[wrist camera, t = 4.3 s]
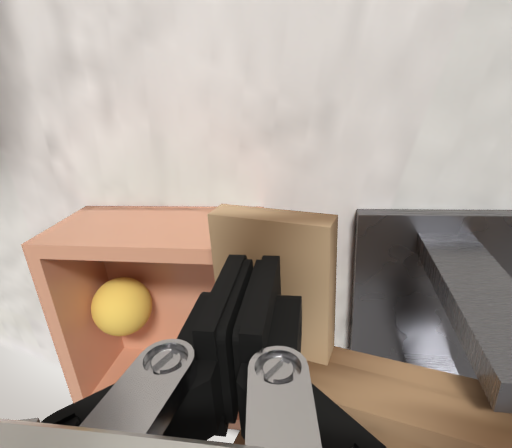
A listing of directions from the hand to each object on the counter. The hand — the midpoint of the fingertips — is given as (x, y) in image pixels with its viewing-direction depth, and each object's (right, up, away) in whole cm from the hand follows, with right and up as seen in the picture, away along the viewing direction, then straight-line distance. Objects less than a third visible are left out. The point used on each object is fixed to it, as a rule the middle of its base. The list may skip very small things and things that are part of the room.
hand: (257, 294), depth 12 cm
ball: (-7, -2, +8) cm, 11 cm away
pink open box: (-4, -1, +10) cm, 11 cm away
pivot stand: (+9, -2, +8) cm, 12 cm away
